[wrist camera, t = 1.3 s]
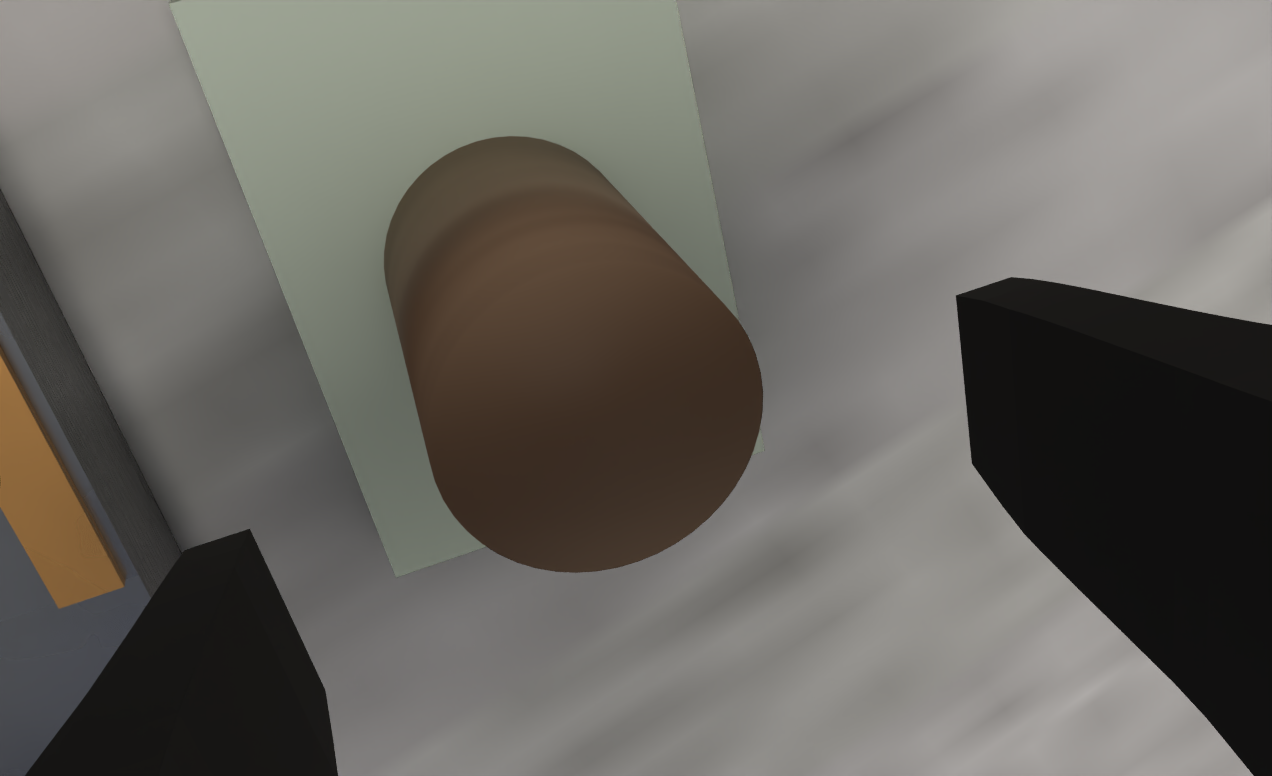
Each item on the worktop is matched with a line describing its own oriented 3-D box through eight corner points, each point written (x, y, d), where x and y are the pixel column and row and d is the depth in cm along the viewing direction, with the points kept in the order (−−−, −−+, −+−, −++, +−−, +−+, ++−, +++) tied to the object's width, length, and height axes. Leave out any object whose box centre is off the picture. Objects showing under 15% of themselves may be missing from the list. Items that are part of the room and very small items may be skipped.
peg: (654, 332, 20) (787, 509, 15) (427, 406, 20) (482, 615, 14) (600, 104, 18) (730, 216, 13) (348, 179, 18) (378, 326, 13)
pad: (737, 415, 23) (764, 451, 22) (388, 533, 22) (395, 578, 21) (625, -129, 18) (651, -126, 17) (176, -10, 18) (168, 4, 16)
